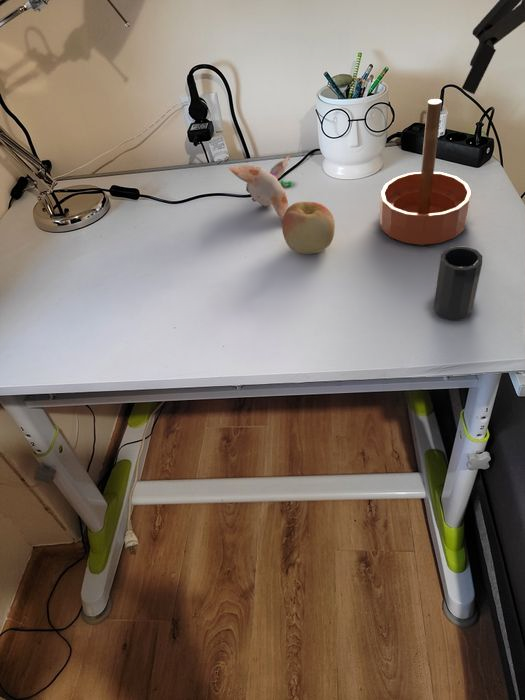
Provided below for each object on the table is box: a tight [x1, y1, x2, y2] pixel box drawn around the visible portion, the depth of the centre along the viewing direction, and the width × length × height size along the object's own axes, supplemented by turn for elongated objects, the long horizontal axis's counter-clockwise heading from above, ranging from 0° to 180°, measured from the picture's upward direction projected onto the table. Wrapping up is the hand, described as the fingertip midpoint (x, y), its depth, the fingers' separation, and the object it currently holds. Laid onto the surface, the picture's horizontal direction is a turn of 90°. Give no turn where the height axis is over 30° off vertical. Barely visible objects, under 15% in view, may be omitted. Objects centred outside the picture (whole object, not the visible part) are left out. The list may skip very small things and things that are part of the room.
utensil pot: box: [433, 245, 483, 322], centre depth 70 cm, size 5×5×9 cm
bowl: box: [379, 171, 473, 246], centre depth 87 cm, size 14×14×6 cm
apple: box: [281, 201, 336, 255], centre depth 86 cm, size 9×9×8 cm
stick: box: [417, 98, 443, 214], centre depth 82 cm, size 2×2×20 cm
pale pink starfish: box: [228, 155, 293, 221], centre depth 99 cm, size 15×8×15 cm
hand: (502, 102), depth 77 cm, fingers open, 13 cm apart
